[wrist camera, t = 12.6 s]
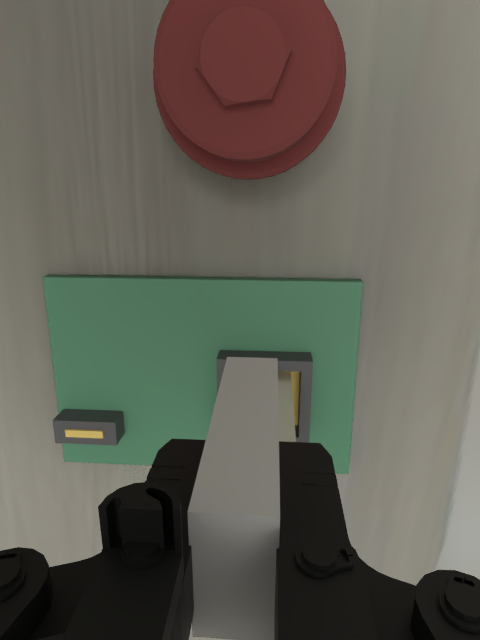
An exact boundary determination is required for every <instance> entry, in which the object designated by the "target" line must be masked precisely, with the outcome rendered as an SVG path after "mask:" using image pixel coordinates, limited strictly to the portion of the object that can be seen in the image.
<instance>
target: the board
mask: <svg viewBox="0 0 480 640" xmlns="http://www.w3.org/2000/svg"><path fill="white" fill-rule="evenodd" d="M42 278H43V286H44V294H45V303H46V311H47V320H48V328H49V336H50V345H51V353H52V362H53V370H54V378H55V387H56V395H57V404H58V412H59V414H58V415H57V416H56V418H55V419H54V420H53V427H54V435H55V443H62V446H63V454H64V462H87V463H110V464H132V465H152V464H153V462H154V459H155V457H156V454H157V452H158V450H159V449H161V448H162V447H163V446H164V445H165V444H166V443H167V442H168V441H170V440H171V439H195V440H206V437H207V434H208V430H209V426H210V422H211V418H212V414H213V410H214V406H215V402H216V398H217V394H218V390H219V387H220V383H221V379H222V375H223V371H224V367H225V363H226V359H227V357H250V358H278V371H290V374H291V386H292V398H293V410H294V422H295V434H296V442H308V443H321V444H322V445H323V447H324V448H325V449H326V450H327V451H328V452H329V454H330V455H331V456H332V459H333V464H334V469H335V473H337V474H348V473H349V460H350V447H351V434H352V420H353V407H354V394H355V381H356V368H357V354H358V341H359V328H360V315H361V302H362V289H363V281H362V280H361V279H301V278H233V277H165V276H97V275H47V276H44V277H42Z"/></svg>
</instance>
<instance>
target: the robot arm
mask: <svg viewBox="0 0 480 640" xmlns="http://www.w3.org/2000/svg"><path fill="white" fill-rule="evenodd" d="M98 509H99V518H100V527H101V536H102V544H103V549H102V552H101V553H99V554H97V555H95V556H93V557H91V558H88V559H84V560H81V561H77V562H73V563H68V564H63V565H58V566H54V567H49V565H48V563H47V561H46V559H45V557H44V555H43V554H41V553H39V552H38V551H36V550H34V549H30V548H19V547H18V548H13V549H8V550H3V551H0V640H189V635H190V629H191V624H192V631H193V637H208V638H222V639H236V640H480V580H479V579H477V578H476V577H474V576H471V575H468V574H465V573H461V572H458V571H455V570H437V571H434V572H431V573H428V574H426V575H424V576H423V578H422V579H421V580H420V581H419V582H418V584H417V586H415V585H412V584H409V583H406V582H403V581H400V580H397V579H394V578H391V577H389V576H386V575H384V574H381V573H379V572H377V571H376V570H374V569H373V568H371V567H370V566H368V565H367V564H366V563H365V562H363V561H362V560H361V559H360V558H359V557H358V554H357V552H356V550H355V549H354V548H353V547H352V546H351V544H350V541H349V538H348V534H347V529H346V524H345V519H344V514H343V509H342V504H341V499H340V494H339V489H338V484H337V479H336V475H335V469H334V464H333V459H332V456H331V455H330V454H329V452H328V451H327V450H326V449H325V448H324V447H323V445H322V444H321V443H308V442H283V441H279V415H278V358H250V357H227V359H226V363H225V367H224V371H223V375H222V379H221V383H220V387H219V390H218V394H217V398H216V402H215V406H214V410H213V414H212V418H211V422H210V426H209V430H208V434H207V437H206V440H195V439H171V440H170V441H168V442H167V443H166V444H165V445H164V446H163V447H162V448H161V449H159V450H158V452H157V454H156V457H155V459H154V462H153V464H152V468H151V469H150V471H149V474H148V476H147V481H145V482H144V483H134V484H131V485H128V486H125V487H122V488H119V489H117V490H116V491H114V492H113V493H111V494H110V495H108V496H107V497H106V498H105V499H104V500H103V502H102V503H101V504H100V505H99V507H98Z"/></svg>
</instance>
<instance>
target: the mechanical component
mask: <svg viewBox="0 0 480 640" xmlns="http://www.w3.org/2000/svg"><path fill="white" fill-rule="evenodd" d="M153 75H154V90H155V96H156V101H157V105H158V108H159V111H160V115H161V117H162V119H163V121H164V124H165V126H166V128H167V130H168V131H169V133H170V135H171V136H172V138H173V139H174V141H175V142H176V143H177V144H178V146H179V147H180V148H181V149H182V150H183V151H184V152H185V153H186V154H187V155H188V156H189V157H190V158H191V159H192V160H194V161H195V162H197V163H198V164H200V165H201V166H203V167H204V168H206V169H208V170H210V171H213V172H215V173H217V174H220V175H223V176H227V177H231V178H237V179H261V178H266V177H271V176H274V175H277V174H279V173H282V172H285V171H286V170H288V169H290V168H292V167H294V166H296V165H297V164H298V163H300V162H301V161H302V160H304V159H305V158H306V157H307V156H308V155H310V154H311V153H312V152H313V151H314V150H315V149H316V147H317V146H318V145H319V144H320V143H321V142H322V140H323V139H324V138H325V136H326V134H327V133H328V131H329V130H330V128H331V127H332V124H333V122H334V120H335V118H336V116H337V114H338V111H339V108H340V105H341V102H342V98H343V93H344V88H345V78H346V62H345V52H344V47H343V42H342V38H341V35H340V32H339V29H338V27H337V24H336V22H335V20H334V18H333V16H332V14H331V12H330V11H329V9H328V8H327V6H326V5H325V2H324V0H170V1H169V3H168V5H167V7H166V9H165V11H164V13H163V15H162V18H161V21H160V24H159V26H158V29H157V35H156V40H155V45H154V70H153Z"/></svg>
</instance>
